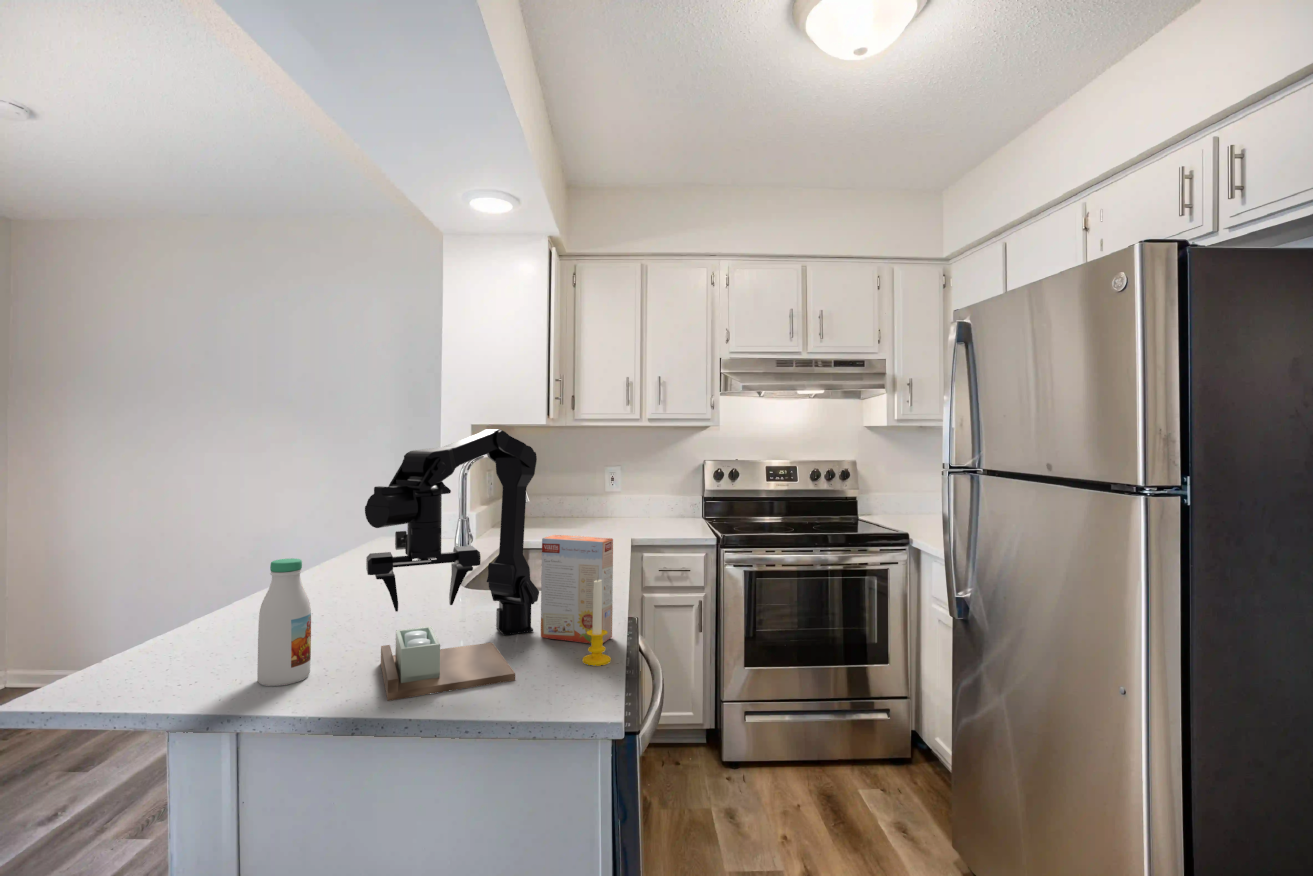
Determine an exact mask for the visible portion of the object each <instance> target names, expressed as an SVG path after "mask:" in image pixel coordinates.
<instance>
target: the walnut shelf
mask: <svg viewBox="0 0 1313 876" xmlns="http://www.w3.org/2000/svg"><path fill="white" fill-rule="evenodd" d="M380 667H381V672H382V677H383V684H384V690H385V694H386V699H387V702H389V701H396V700H401V699H408V698H413V697H414V696H415V697H419V696H420V695H421V696H426V695H425V694H427V695H431V694H430V693H434V694H438V693H437V692H440V693H444V692H443V691H446V692H450V691H449V690H452V691H457V690H456V689H459V690H463V689H462V688H465V689H471V688H477V687H483V686H487V685H488V686H489V685H494V684H501V683H507V682H513V681H516V672H515V671H514V670H513V668H512V667H511V665H510V664H509V662H508V661H507V660H506V659H505V658H504V656H503V654H502V653H501V652H500V651H499V649H498V648H497V647H496V645H495V644H494V643H493V642H485V643H476V644H471V645H470V644H469V645H463V646H454V647H447V648H440V677H438V678H432V679H425V680H418V681H412V682H405V683H401V682H400V678H399V674H398V670H397V666H396V662H395V655H394V654H393V651H392V647H391V645H390V644H387V645H386V644H385V645H380ZM470 687H471V688H470Z"/></svg>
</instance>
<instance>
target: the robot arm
mask: <svg viewBox="0 0 1313 876" xmlns="http://www.w3.org/2000/svg"><path fill="white" fill-rule="evenodd" d="M485 455H487V457H488V459H490V460H491V461H492V462H493V463H495V474H496V476H497V479H498V480H499V482H500V484H501V486H502V495H501V512H500V514H501V515H500V530H499V531H500V532H499V533H500V534H499V548H498V549H499V550H498V555H497V557H496V558H495V560H494V561H493V562H489V563H488V565H487V571H488V573H487V579H486V583H488V589H489V591H490V593H491V598H492V601H493V602H498V608H496V614H495V615H496V618H495V619H496V621H495V622H496V625H495V627H496V629H497V630H498V631H499V632H500V633H501V634H502V636H507V635H516V634H524V633H532V632H533V633H534V628H533V627H532V605H535V603H536V602H538V600H539V595H540V590H539V589H538V588H537V587H536V585H535V584H534V583H533V582H532V580H531V569H530V566H529V563H528V561H527V559H526V557H525V556H524V541H525V522H526V517H525V516H526V503H527V502H526V500H527V488H528V486H529V484H530V483H531V481H532V479H533V478H534V476H535V472H536V466H537V462H538V461H537V459H538V458H537V452H536V451H534V449H533V447H531V446H530V445H527V444H526V443H525V442H523V441H521V440H519V439H518V438H515V437H513V436H511V435H509V434H508V433H507V432H506V431H504V430H502V429H494V428H493V429H491V428H489V429H488V428H487V429H484V430H481V431H480V432H478V433H476V434H473V435H470V436H468V437H466V438H462V439H460V440H457V441H455V442H453V443H452V442H451V443H450V444H447V445H444V446H441V447H432V448H422V449H415V450H414V449H413V450H410V451H408V452H406V453H405V454H404V455H403V460H402V463H401V465H400V466H399V467H398V469H397V471H396V473H395V474H394V476H393V478H392V479H391V481H390V483H389V484H388V486H386V485H385V486H384V485H383V486H382V485H380V486H379V485H378V486H374V488H373V494H371V495H370V496H369V498H368V499H367V502H366V505H365V506H364V515H365V518H366V522H368V524H369V525H370V526H371V527H373V528H374V529H380V528H387V527H395V526H399V525H407V526H406V527H407V529H406V530H403V531H399V530H398V531H395V535H394V546H395V548H394V549H395V550H396V551H397V550H400V551H401V550H405V551H404V553H405V555H398V556H397V555H396V556H393V554H392V552H391V551H385V552H375V553H374V552H373V553H369V554H368V555H367V556H366V559H365V562H366V563H365V564H366V566H365V567H366V573H367V575H368V576H375V579H376V580H382V581H383V583H384V585H385V586H386V589H387V591H388V592H389V596H390V599H391V601H392V605H393V608H394V611H395V612H396V613H398V612H399V599H398V598H399V597H398V591H397V590H398V589H397V583H396V574H395V573H394V568H402V567H404V568H405V567H415V566H426V565H438V564H439V565H440V564H449V563H451V577H450V585H449V596H448V599H449V600H448V602H449V606H453V605H454V602H455V599H456V597H457V595H458V593H459V589H460V587H461V585H462V583H463V581H464V579H465V577H466V576H467V573H469V572H473V571H474V567H478V566H481V552H480V551H479V550H478V549H477V548H475V547H474V546H473V545H466V546H454V547H453V551H452V552H449V551H448V552H442V511H443V510H442V505H443V503H442V499H443V498H442V495H448V494H451V493H452V490H451V489H450V488H449V487H448V486H446V484H445V483H444V482H443V481H445V480H446V479H447V478H448V477H450V476H452V475H453V473H454V472H455V471H456V469H457V468H458V467H459V466H461V465H464V464H466V463H469V462H471V461H473V460H477V459H478V458H481V457H483V456H485ZM415 559H416V560H415Z"/></svg>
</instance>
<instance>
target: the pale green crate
mask: <svg viewBox="0 0 1313 876" xmlns="http://www.w3.org/2000/svg"><path fill="white" fill-rule="evenodd" d="M440 649H441V643H440V641H439V638H438V637H437V635H436V633H435V631H434V628H433V627H432V626H425V627H424V626H423V627H415V628H405V629H398V630H395V662H396V666H397V670H398V674H399V678H400V682H401V683H405V682H412V681H418V680H425V679H432V678H438V677H440Z"/></svg>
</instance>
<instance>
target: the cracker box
mask: <svg viewBox="0 0 1313 876" xmlns="http://www.w3.org/2000/svg"><path fill="white" fill-rule="evenodd" d="M540 575H541V582H540V583H541V586H540V587H541V589H540V594H541V595H540V638H542V639H551V640H559V641H560V640H561V641H566V642H567V641H569V642H575V643H584V644H590V643H591V639H592V638H591V635H588V634H587V631H589V630H592V629H593V590H594V581H595V580H602V630H606V631H607V632H608V633H607V634H606V635H603V638H602V639H603V644H604V643H606V642H607V641H609V640H610V639H611V638H613V603H614V602H613V593H614V591H613V590H614V589H613V588H614V587H613V585H614V584H613V582H614V539H613V538H611V537H609V538H608V537H596V536H584V535H583V536H581V535H564V534H563V535H562V534H552V535H548V536H545V537H542V538H541V574H540Z"/></svg>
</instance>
